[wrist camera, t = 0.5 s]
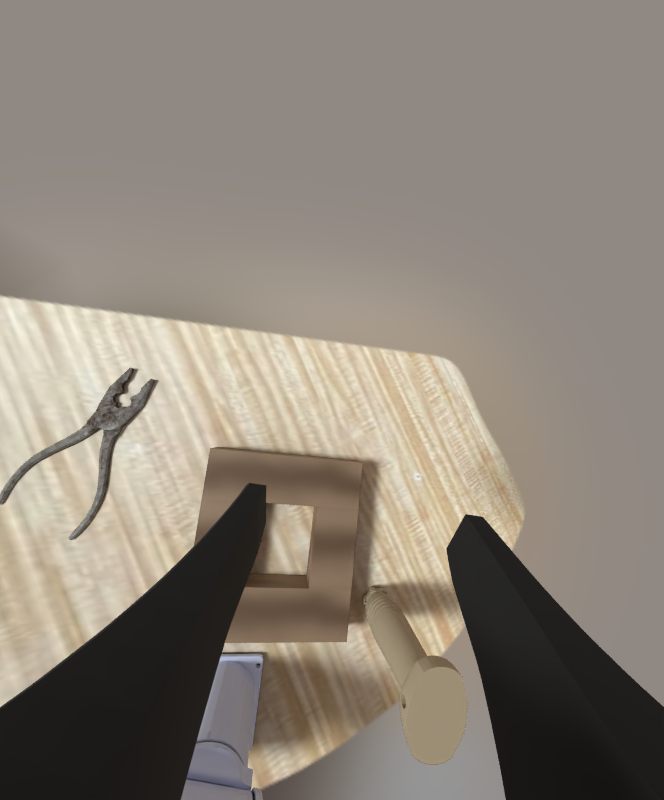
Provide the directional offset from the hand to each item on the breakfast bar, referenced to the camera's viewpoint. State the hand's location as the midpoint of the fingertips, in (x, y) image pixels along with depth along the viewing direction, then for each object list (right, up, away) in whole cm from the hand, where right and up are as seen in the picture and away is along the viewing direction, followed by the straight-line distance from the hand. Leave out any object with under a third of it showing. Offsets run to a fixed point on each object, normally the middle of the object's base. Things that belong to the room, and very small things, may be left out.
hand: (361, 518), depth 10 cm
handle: (+4, -21, +26) cm, 33 cm away
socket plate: (-8, -13, +24) cm, 28 cm away
